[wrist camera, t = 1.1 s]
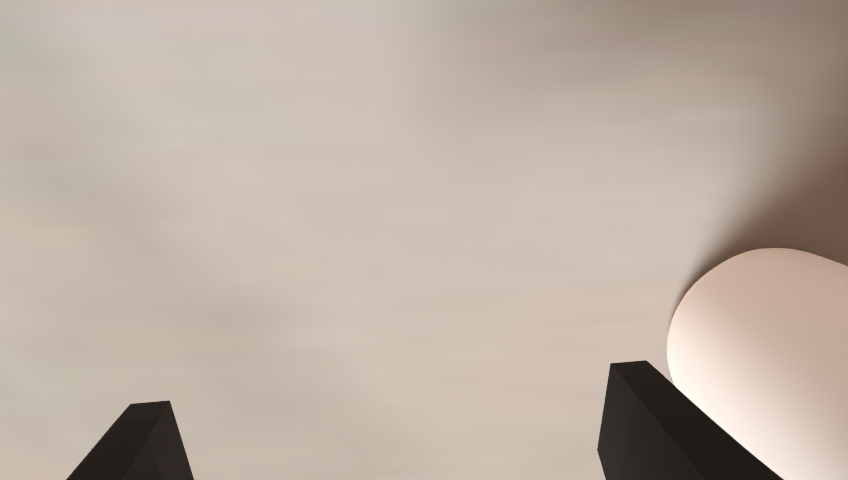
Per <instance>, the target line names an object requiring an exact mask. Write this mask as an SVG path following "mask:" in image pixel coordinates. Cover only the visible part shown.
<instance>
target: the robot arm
mask: <svg viewBox="0 0 848 480" xmlns="http://www.w3.org/2000/svg"><path fill="white" fill-rule="evenodd" d="M597 450H598V454H599V457H600V461H601V464H602V467H603V471H604V474H605V478H606V480H784V479H782V478H781V477H780V476H779V475H777V474H776V473H775V472H774V471H772V470H771V469H770V468H769V467H767V466H766V465H765V464H764V463H762V462H761V461H760V460H759V459H758V458H756V457H755V456H754V455H753V454H752V453H750V452H749V451H748V450H747V449H746V448H744V447H743V446H742V445H741V444H740V443H739V442H737V441H736V440H735V439H734V438H733V437H731V436H730V435H729V434H728V433H727V432H726V431H725V430H723V429H722V428H721V427H720V426H719V425H718V424H716V423H715V422H714V421H713V420H712V419H711V418H710V417H709V416H707V415H706V414H705V413H704V412H703V411H702V410H701V409H700V408H699V407H697V406H696V405H695V404H694V403H693V402H692V401H691V400H690V399H689V398H687V397H686V396H685V395H684V394H683V393H682V392H681V391H680V390H679V389H677V388H676V387H675V386H674V385H673V384H672V383H671V382H670V381H669V380H668V379H666V378H665V377H664V376H663V375H662V374H661V373H660V372H659V371H658V370H656V369H655V368H654V367H653V366H652V365H651V364H650V363H649V362H647V361H635V362H623V363H611V364H610V371H609V377H608V384H607V390H606V397H605V403H604V410H603V416H602V423H601V429H600V436H599V442H598V449H597ZM66 480H194V478H193V475H192V472H191V469H190V465H189V462H188V459H187V456H186V452H185V449H184V446H183V443H182V439H181V436H180V433H179V429H178V426H177V423H176V420H175V416H174V413H173V410H172V407H171V403H170V401H160V402H148V403H137V404H130V405H129V407H128V408H127V409H126V410H125V411H124V412H123V413H122V414H121V416H120V417H119V418H118V419H117V420H116V421H115V422H114V424H113V425H112V426H111V427H110V428H109V430H108V431H107V432H106V433H105V434H104V436H103V437H102V438H101V439H100V440H99V442H98V443H97V444H96V445H95V446H94V447H93V449H92V450H91V451H90V452H89V453H88V455H87V456H86V457H85V458H84V459H83V461H82V462H81V463H80V464H79V465H78V466H77V468H76V469H75V470H74V471H73V472H72V473H71V475H70V476H69V477H68V478H67V479H66Z"/></svg>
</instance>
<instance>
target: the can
mask: <svg viewBox="0 0 848 480" xmlns="http://www.w3.org/2000/svg"><path fill="white" fill-rule="evenodd" d="M667 358H668V365H669V370H670V374H671V377H672V380H673V382H674V384H675V386H676V388H677V389H679V390H680V391H681V392H682V393H683V394H684V395H685V396H686V397H687V398H689V399H690V400H691V401H692V402H693V403H694V404H695V405H696V406H697V407H699V408H700V409H701V410H702V411H703V412H704V413H705V414H706V415H707V416H709V417H710V418H711V419H712V420H713V421H714V422H715V423H716V424H718V425H719V426H720V427H721V428H722V429H723V430H725V431H726V432H727V433H728V434H729V435H730V436H731V437H733V438H734V439H735V440H736V441H737V442H739V443H740V444H741V445H742V446H743V447H744V448H746V449H747V450H748V451H749V452H750V453H752V454H753V455H754V456H755V457H756V458H758V459H759V460H760V461H761V462H762V463H764V464H765V465H766V466H767V467H769V468H770V469H771V470H772V471H774V472H775V473H776V474H777V475H779V476H780V477H781V478H782V479H784V480H848V266H846V265H843V264H840V263H838V262H835V261H832V260H830V259H827V258H824V257H821V256H818V255H815V254H812V253H809V252H805V251H800V250H795V249H786V248H764V249H756V250H751V251H747V252H744V253H741V254H739V255H736V256H734V257H732V258H730V259H728V260H726V261H724V262H722V263H721V264H719V265H717V266H716V267H714V268H713V269H712V270H710V271H709V272H707V273H706V274H705V275H704V276H702V277H701V278H700V279H699V280H698V281H697V282H696V283H695V284H694V285H693V286H692V287H691V288H690V289H689V290H688V292H687V293H686V294H685V296H684V297H683V299H682V300H681V302H680V303H679V305H678V307H677V309H676V311H675V314H674V316H673V319H672V321H671V325H670V329H669V333H668V340H667Z"/></svg>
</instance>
